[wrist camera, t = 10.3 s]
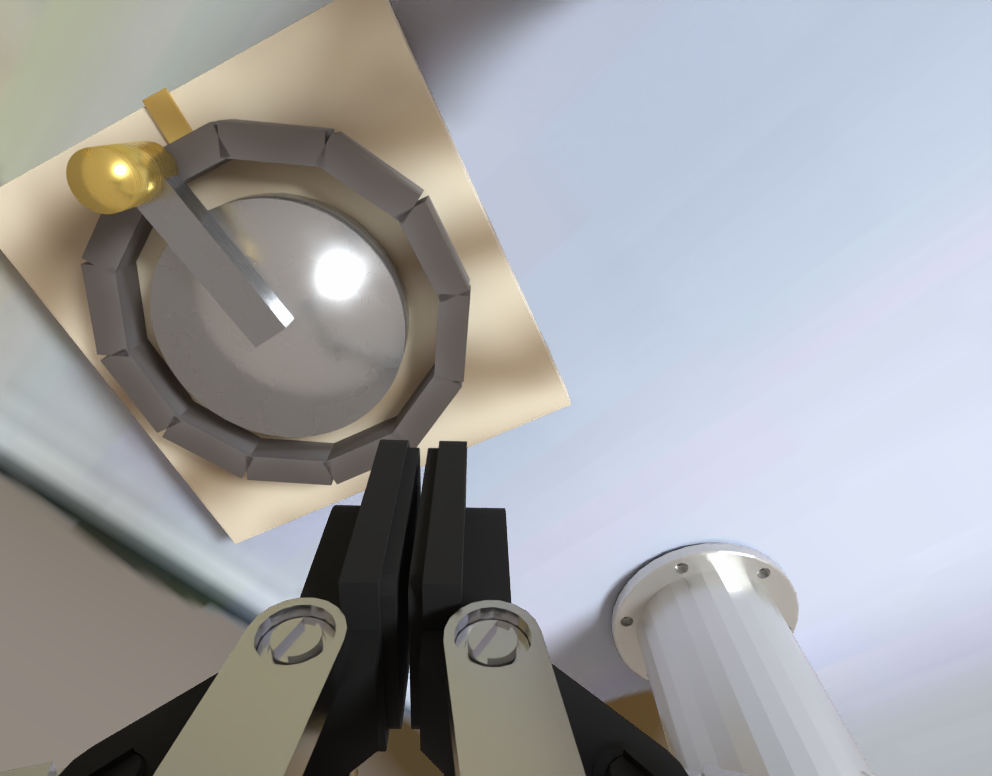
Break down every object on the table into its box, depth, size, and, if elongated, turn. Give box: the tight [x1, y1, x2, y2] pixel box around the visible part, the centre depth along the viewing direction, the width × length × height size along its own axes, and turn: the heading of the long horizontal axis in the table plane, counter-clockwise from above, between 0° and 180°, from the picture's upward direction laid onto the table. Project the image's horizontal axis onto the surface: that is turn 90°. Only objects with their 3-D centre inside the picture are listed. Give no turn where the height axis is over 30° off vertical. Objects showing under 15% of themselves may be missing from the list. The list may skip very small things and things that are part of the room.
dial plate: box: [0, 0, 571, 544], centre depth 32 cm, size 22×22×4 cm
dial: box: [66, 140, 409, 437], centre depth 29 cm, size 16×12×6 cm
